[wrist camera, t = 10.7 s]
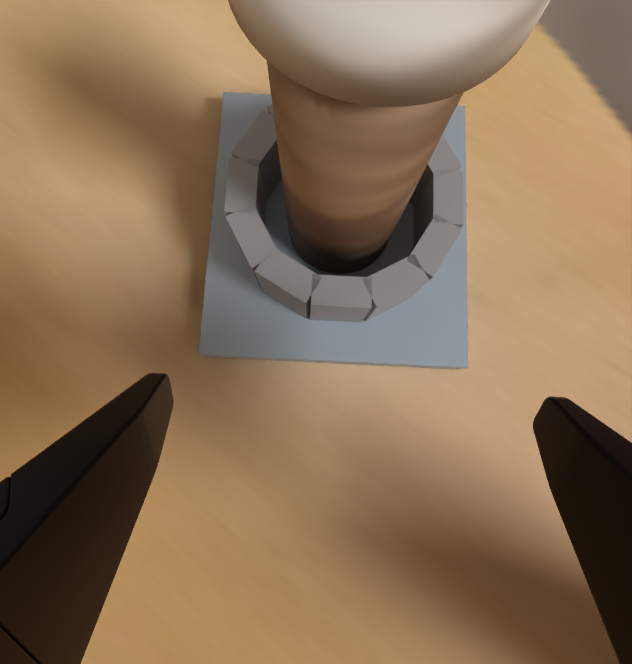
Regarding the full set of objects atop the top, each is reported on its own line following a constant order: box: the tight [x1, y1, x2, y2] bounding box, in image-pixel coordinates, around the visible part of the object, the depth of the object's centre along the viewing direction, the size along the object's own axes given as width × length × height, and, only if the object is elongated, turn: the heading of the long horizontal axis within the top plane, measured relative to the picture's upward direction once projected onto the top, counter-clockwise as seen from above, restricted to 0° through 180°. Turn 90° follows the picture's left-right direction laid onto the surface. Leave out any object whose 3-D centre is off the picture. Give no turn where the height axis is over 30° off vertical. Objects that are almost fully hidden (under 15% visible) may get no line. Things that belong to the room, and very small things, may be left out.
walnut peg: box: [228, 0, 550, 274], centre depth 12 cm, size 6×6×13 cm
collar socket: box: [199, 92, 468, 369], centre depth 18 cm, size 13×12×4 cm
